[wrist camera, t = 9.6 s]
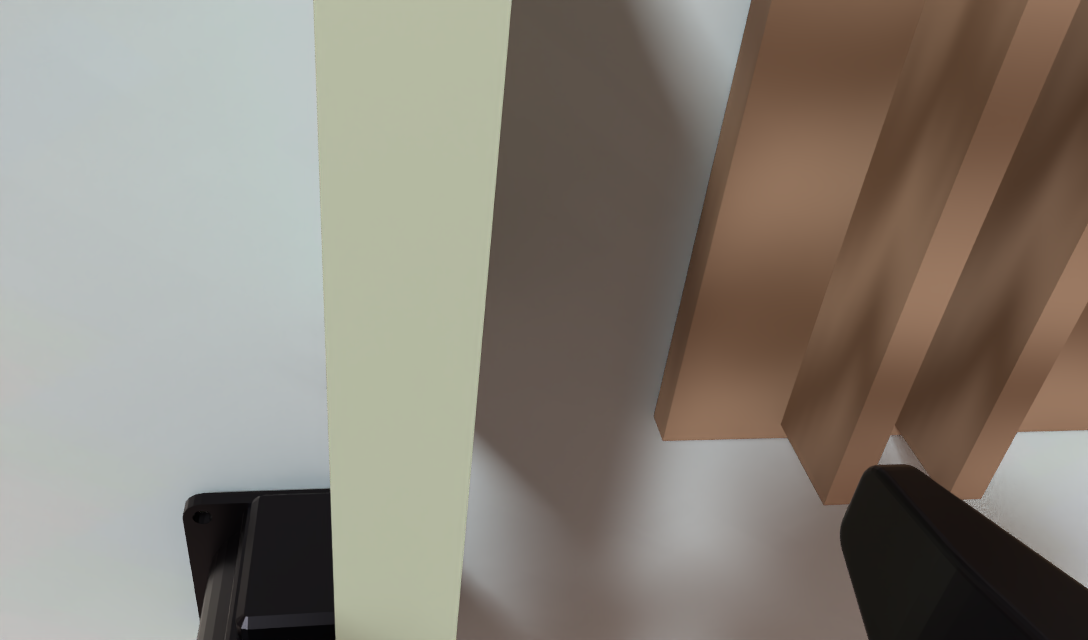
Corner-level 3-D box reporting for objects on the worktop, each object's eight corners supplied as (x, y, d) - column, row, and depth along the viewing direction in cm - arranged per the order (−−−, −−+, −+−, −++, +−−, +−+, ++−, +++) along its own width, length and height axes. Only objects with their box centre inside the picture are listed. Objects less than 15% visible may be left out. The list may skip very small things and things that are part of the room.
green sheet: (417, 306, 22) (448, 725, 14) (350, 307, 22) (339, 735, 13) (442, -420, 14) (558, -532, 6) (339, -435, 14) (293, -579, 5)
